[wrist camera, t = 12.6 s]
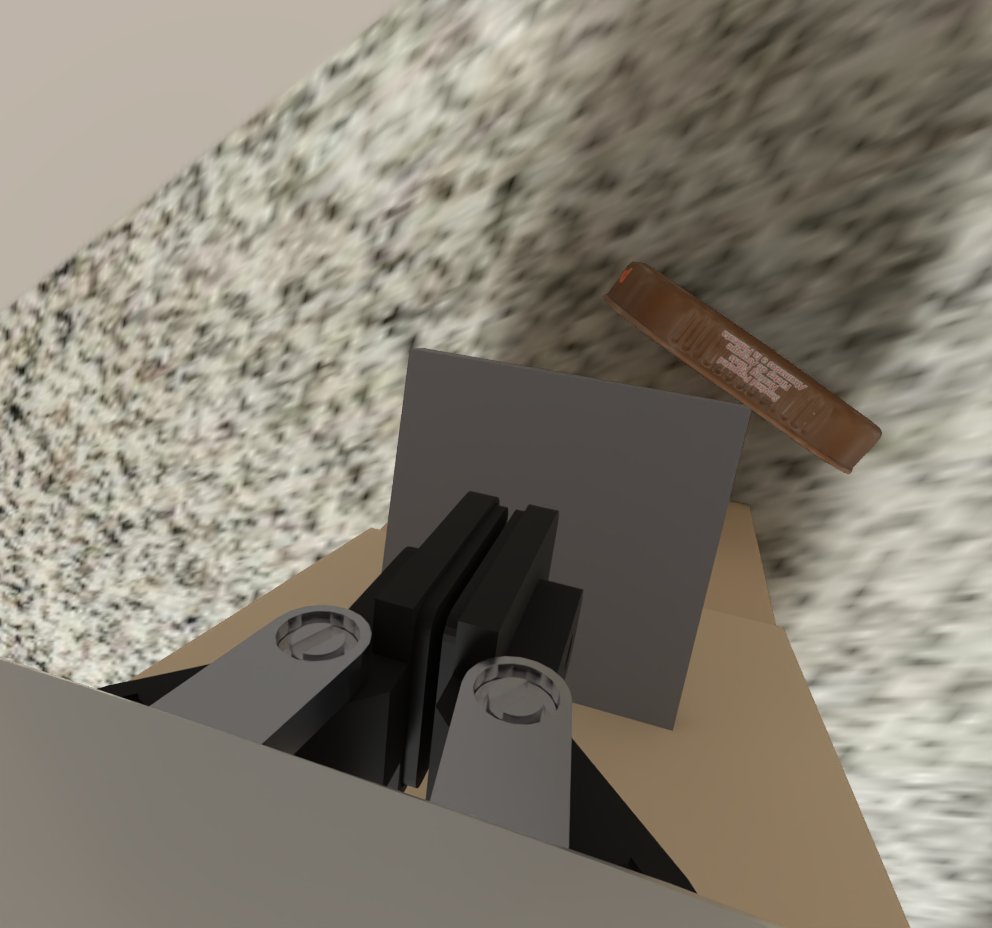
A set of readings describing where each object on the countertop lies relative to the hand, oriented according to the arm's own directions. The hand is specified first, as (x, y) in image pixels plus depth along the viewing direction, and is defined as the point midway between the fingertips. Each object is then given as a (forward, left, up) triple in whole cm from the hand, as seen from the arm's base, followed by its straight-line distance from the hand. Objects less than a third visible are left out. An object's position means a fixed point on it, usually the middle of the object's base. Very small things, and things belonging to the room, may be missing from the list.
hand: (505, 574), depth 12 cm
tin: (0, -6, -29) cm, 29 cm away
